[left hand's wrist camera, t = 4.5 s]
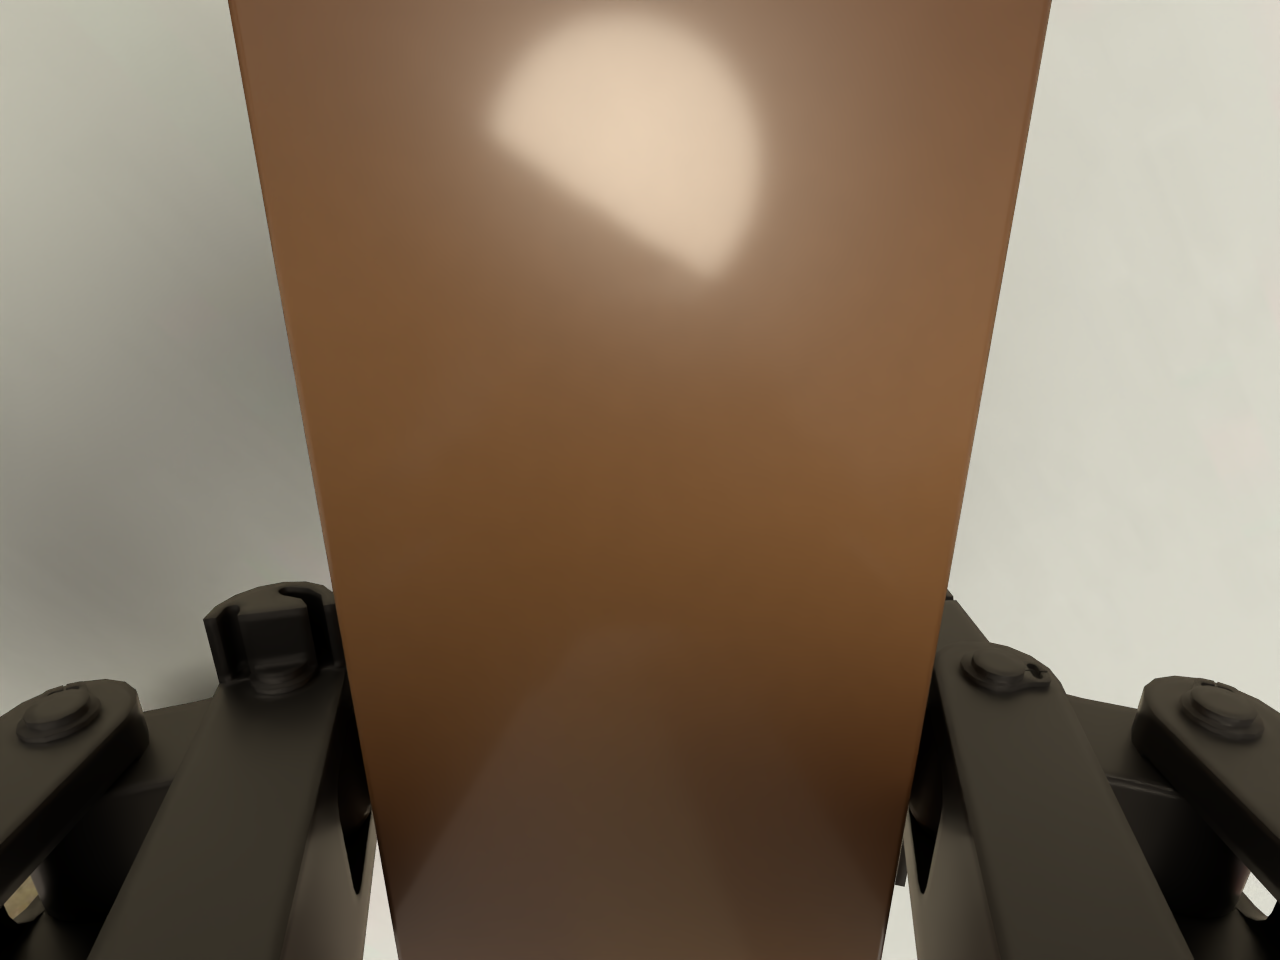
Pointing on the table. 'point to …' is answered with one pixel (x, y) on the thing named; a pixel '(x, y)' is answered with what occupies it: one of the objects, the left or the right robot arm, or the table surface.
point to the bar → (639, 438)
